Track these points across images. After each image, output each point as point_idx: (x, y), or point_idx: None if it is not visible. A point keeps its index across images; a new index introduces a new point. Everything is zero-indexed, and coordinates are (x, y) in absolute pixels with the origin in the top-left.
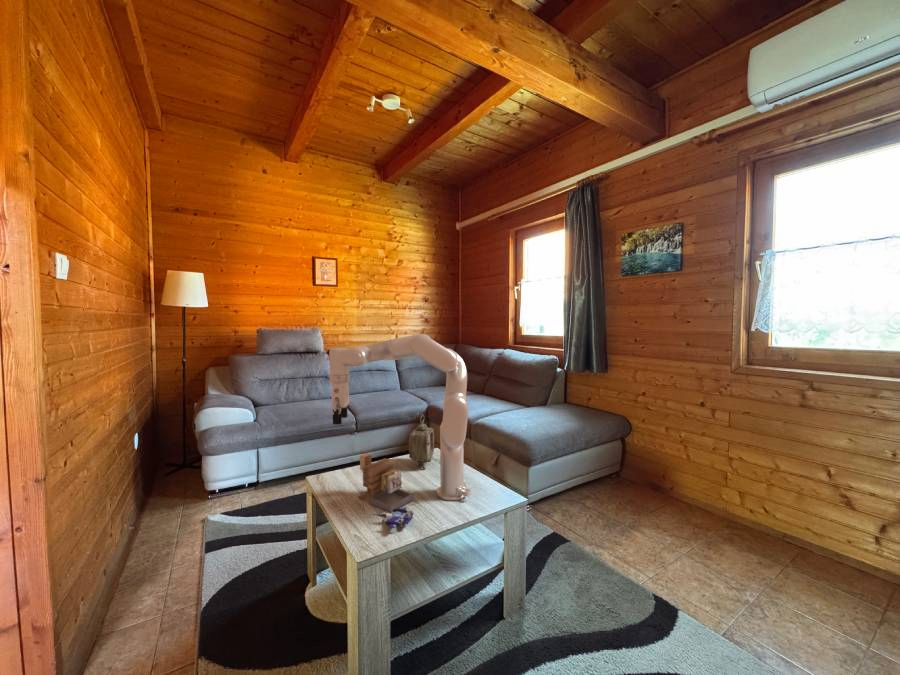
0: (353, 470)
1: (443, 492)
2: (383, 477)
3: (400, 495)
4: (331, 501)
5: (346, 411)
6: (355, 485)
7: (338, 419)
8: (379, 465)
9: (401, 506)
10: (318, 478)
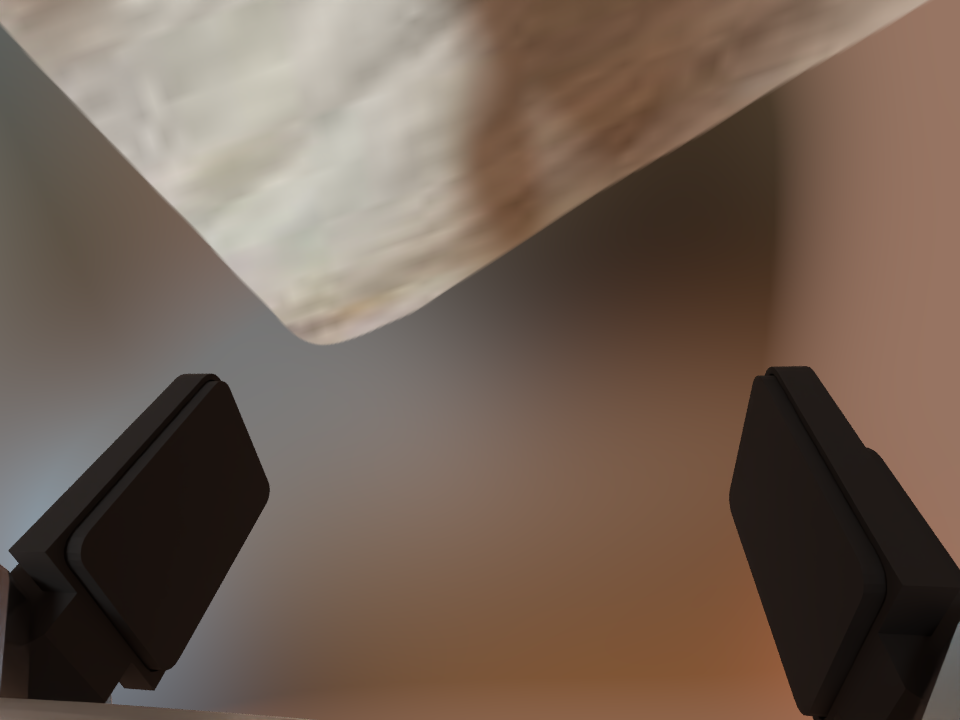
0: (173, 153)
1: None
2: None
3: None
4: (593, 160)
5: (135, 476)
6: (377, 67)
7: (904, 498)
8: None
9: None
10: (325, 320)
